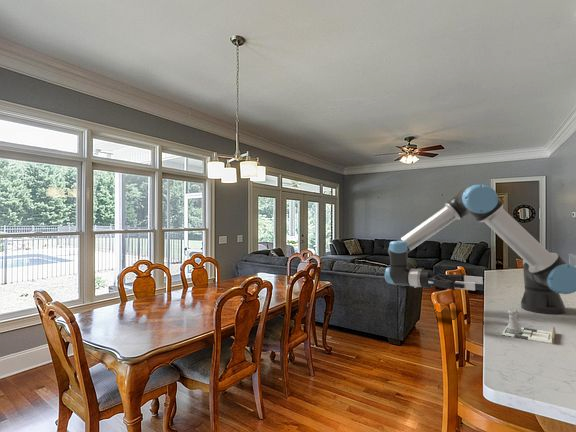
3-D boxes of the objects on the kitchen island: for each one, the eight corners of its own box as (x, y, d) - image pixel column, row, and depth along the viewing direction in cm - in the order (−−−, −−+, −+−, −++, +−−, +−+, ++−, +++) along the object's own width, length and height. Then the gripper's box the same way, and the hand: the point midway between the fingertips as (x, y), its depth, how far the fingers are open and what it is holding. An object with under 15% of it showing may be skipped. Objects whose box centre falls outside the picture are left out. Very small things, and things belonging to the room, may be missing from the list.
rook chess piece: (515, 329, 116) (514, 307, 116) (525, 333, 112) (523, 311, 112) (503, 330, 116) (502, 308, 116) (512, 334, 111) (511, 311, 112)
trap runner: (507, 326, 120) (506, 320, 120) (555, 333, 111) (555, 327, 111) (502, 335, 111) (501, 329, 111) (554, 344, 102) (553, 337, 102)
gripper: (431, 282, 144) (485, 287, 130) (411, 292, 125) (471, 300, 111) (431, 265, 144) (485, 269, 130) (410, 273, 126) (470, 278, 111)
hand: (479, 283), depth 121 cm, fingers open, 13 cm apart
